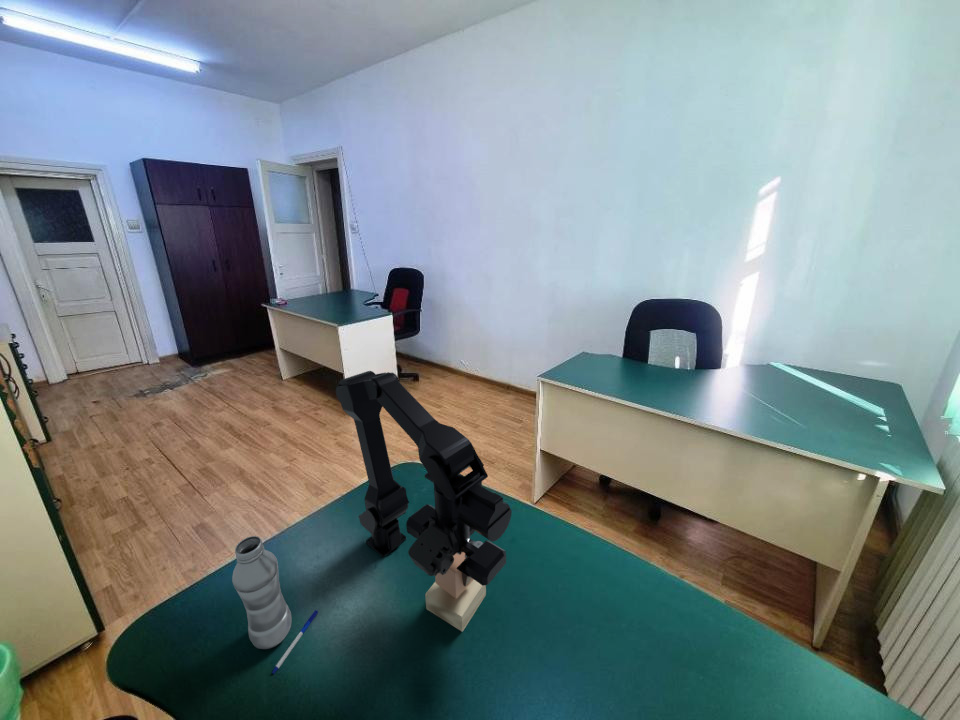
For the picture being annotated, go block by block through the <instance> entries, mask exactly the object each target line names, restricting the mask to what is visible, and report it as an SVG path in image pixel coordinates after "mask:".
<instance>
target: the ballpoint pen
mask: <svg viewBox="0 0 960 720" xmlns="http://www.w3.org/2000/svg"><path fill="white" fill-rule="evenodd" d="M317 614H318V610H317V609H314V611H313V612H312V614H311V615H310V616H309V617H308V619H307V620H306V621H305V623H304V624H303V626H302V628H301V630H300V631H299V633H298V634H297V635H296V636H295V638H294V640H293V641H292V642H291V643H290V646H289V647H288V648H287V649H286V651H285V652H284V654H283V655H282V656H281V657H280V659H279V660H278V662H277V663H276V664H275V666H274V668H273V670H272V671H271V674H272V675H274V674H275V673H277V671H278V670H279V669H280V667H281V666H282V665H283V663H284V662H285V660H286V659H287V657H288V656H289V655H290V653H291V652H292V651H293V648H294V647H295V646H296V645H297V643H298V642H299V640H300V639H301V638H302V636H303V635H304V633H305V632H306V631H307V629H308V627H310V625H311V623H312V622H313V621H314V620H315V618H316V617H317Z"/></svg>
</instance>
